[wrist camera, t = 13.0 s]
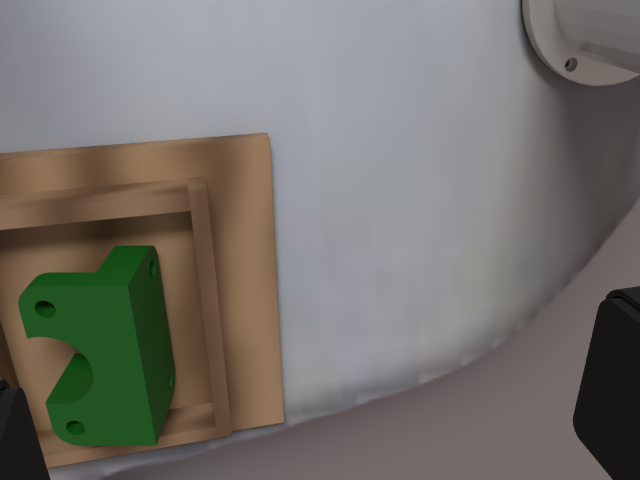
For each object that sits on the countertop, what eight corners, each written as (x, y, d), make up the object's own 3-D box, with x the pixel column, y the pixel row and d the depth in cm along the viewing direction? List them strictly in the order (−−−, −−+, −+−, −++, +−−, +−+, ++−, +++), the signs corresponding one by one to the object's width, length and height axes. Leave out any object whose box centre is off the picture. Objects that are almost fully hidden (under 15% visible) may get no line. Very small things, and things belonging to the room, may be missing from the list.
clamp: (82, 240, 40) (11, 252, 31) (172, 240, 40) (126, 251, 31) (88, 417, 41) (19, 478, 32) (176, 417, 41) (132, 479, 32)
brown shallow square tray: (266, 132, 37) (277, 151, 34) (281, 411, 47) (290, 446, 44) (-142, 164, 32) (-176, 189, 29) (-31, 464, 42) (-47, 508, 39)
